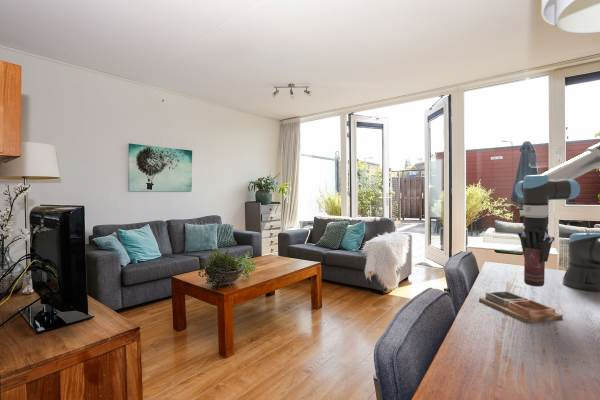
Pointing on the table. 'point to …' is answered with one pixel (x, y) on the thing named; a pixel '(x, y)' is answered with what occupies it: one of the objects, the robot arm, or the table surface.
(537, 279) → the can
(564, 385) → the table surface
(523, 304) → the board
